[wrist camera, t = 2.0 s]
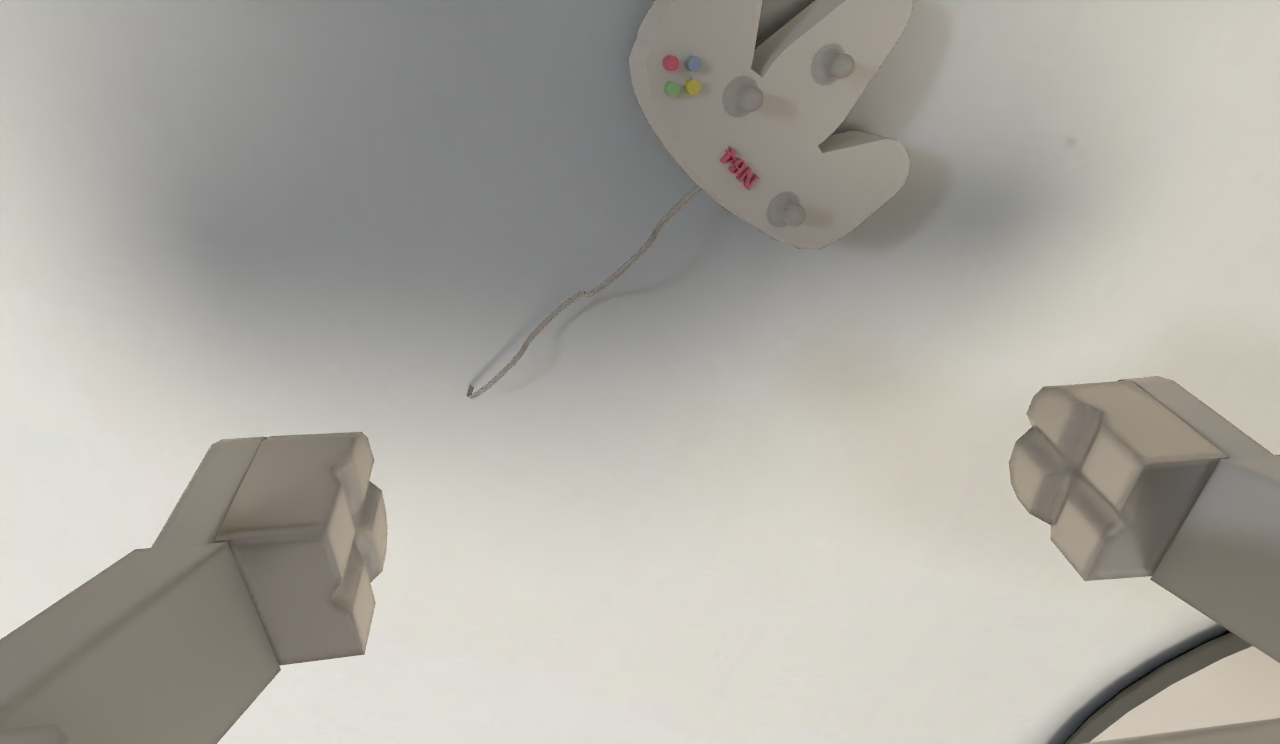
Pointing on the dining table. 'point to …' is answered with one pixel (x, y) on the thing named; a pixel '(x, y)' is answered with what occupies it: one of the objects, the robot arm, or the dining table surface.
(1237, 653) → the bucket
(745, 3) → the game controller
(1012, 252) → the dining table surface
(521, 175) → the dining table surface
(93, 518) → the dining table surface
